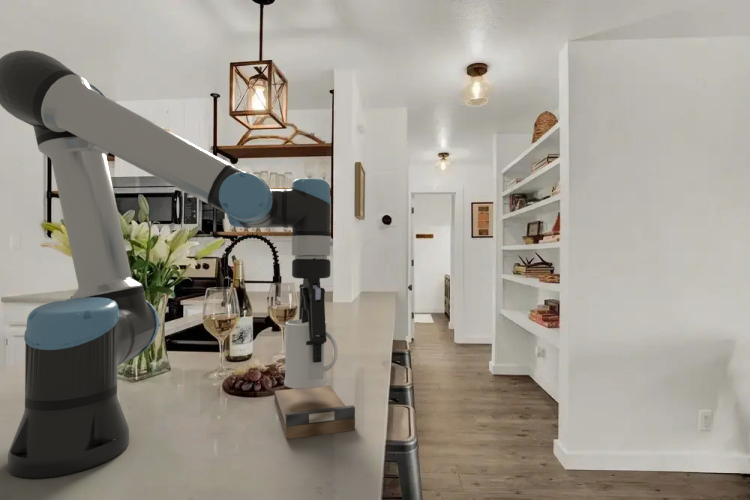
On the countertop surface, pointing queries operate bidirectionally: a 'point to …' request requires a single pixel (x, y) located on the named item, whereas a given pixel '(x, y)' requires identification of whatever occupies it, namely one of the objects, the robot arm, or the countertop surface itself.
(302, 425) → the flat wooden box
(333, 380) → the countertop surface
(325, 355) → the mug
